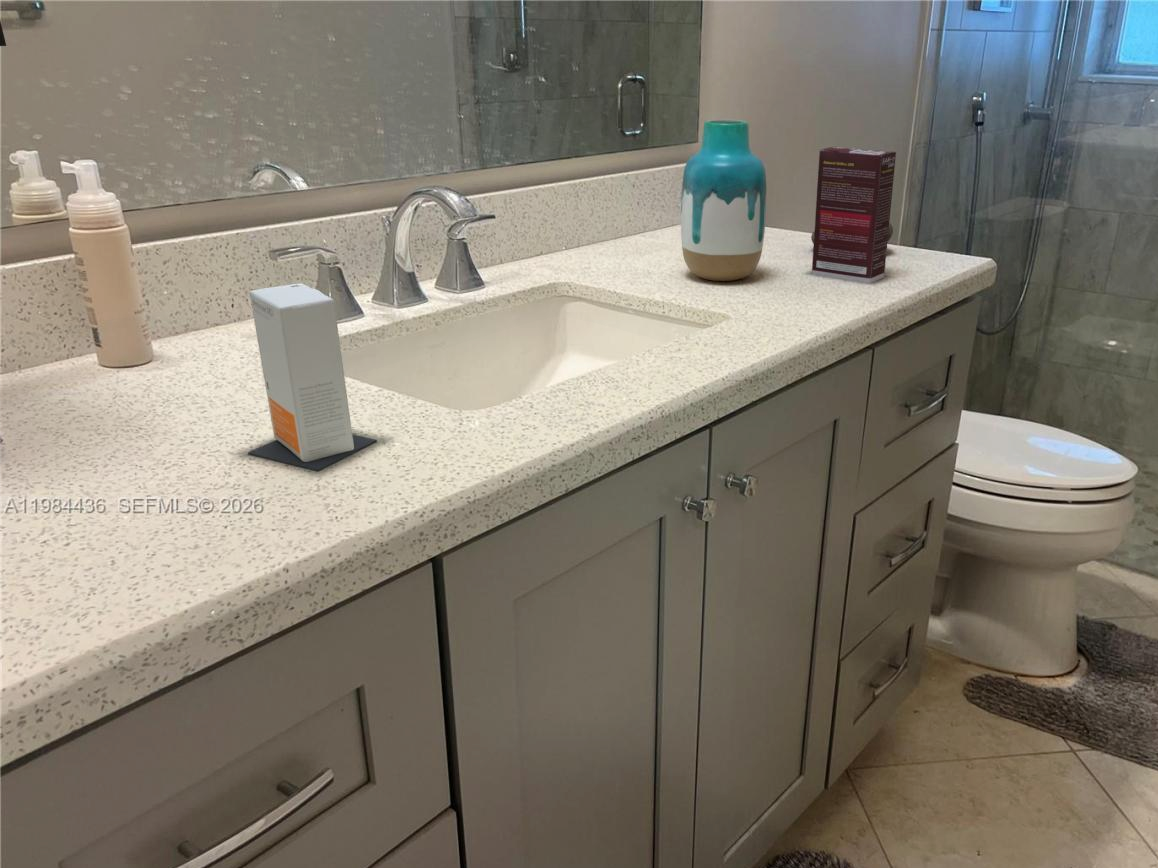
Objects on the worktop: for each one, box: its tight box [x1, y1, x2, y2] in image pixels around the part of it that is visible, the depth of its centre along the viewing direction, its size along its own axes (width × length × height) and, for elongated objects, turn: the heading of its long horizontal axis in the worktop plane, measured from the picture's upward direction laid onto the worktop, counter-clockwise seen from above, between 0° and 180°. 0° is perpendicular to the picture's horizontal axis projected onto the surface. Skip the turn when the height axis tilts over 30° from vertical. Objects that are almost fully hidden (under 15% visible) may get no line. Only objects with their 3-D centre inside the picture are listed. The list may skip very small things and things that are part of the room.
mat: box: [247, 433, 378, 473], centre depth 81 cm, size 7×7×1 cm
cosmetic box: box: [249, 283, 354, 462], centre depth 78 cm, size 6×4×12 cm
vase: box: [680, 118, 767, 282], centre depth 129 cm, size 11×11×19 cm
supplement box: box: [811, 146, 897, 284], centre depth 132 cm, size 9×5×16 cm, turn 56°
